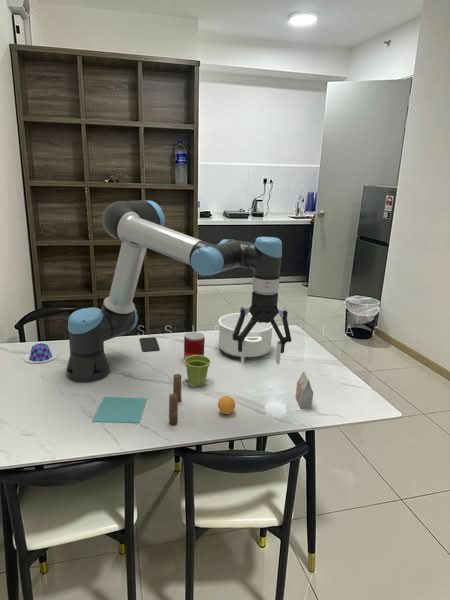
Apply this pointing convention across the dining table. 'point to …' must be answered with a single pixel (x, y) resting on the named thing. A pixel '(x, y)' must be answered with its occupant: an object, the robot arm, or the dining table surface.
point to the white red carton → (304, 392)
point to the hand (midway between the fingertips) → (260, 361)
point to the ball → (226, 404)
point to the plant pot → (197, 369)
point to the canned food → (193, 344)
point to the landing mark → (120, 410)
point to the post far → (177, 386)
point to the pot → (254, 341)
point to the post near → (173, 409)
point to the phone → (149, 344)
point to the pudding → (40, 353)
